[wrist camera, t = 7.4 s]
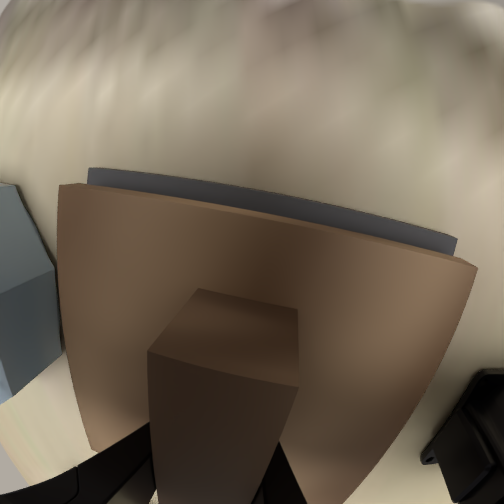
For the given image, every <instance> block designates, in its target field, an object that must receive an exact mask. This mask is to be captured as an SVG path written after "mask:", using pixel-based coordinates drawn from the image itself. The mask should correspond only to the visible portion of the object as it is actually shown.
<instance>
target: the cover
mask: <svg viewBox="0 0 504 504" xmlns="http://www.w3.org/2000/svg"><path fill="white" fill-rule="evenodd" d="M57 267H58V285H59V298H60V309H61V318H62V326H63V333H64V340H65V346H66V352H67V358H68V363H69V368H70V373H71V378H72V382H73V387H74V391H75V395H76V399H77V403H78V407H79V411H80V414H81V418H82V421H83V425H84V428H85V431H86V434H87V438H88V441H89V444H90V447H91V449H92V450H94V451H96V452H98V453H100V452H101V451H103V450H105V449H106V448H108V447H110V446H111V445H113V444H115V443H116V442H118V441H120V440H121V439H123V438H124V437H126V436H127V435H129V434H131V433H132V432H134V431H135V430H137V429H138V428H140V427H142V426H143V425H145V424H146V423H148V422H149V421H150V435H151V446H152V456H153V466H154V474H155V482H156V489H157V496H158V502H159V504H251V502H252V500H253V498H254V496H255V494H256V492H257V490H258V488H259V485H260V483H261V481H262V479H263V477H264V474H265V472H266V470H267V468H268V465H269V463H270V461H271V458H272V456H273V454H274V451H275V449H276V446H277V444H278V441H280V443H281V446H282V448H283V450H284V453H285V455H286V457H287V459H288V462H289V464H290V466H291V468H292V471H293V473H294V475H295V477H296V480H297V482H298V484H299V486H300V488H301V490H302V493H303V495H304V497H305V499H306V501H307V503H308V504H343V503H344V502H345V501H346V499H347V498H348V497H349V496H350V495H351V494H352V493H353V492H354V491H355V489H356V488H357V487H358V486H359V485H360V484H361V483H362V481H363V480H364V479H365V478H366V477H367V475H368V474H369V473H370V472H371V471H372V469H373V468H374V467H375V466H376V464H377V463H378V462H379V460H380V459H381V458H382V456H383V455H384V454H385V452H386V451H387V450H388V448H389V447H390V446H391V444H392V443H393V441H394V440H395V439H396V437H397V436H398V434H399V433H400V431H401V430H402V428H403V427H404V425H405V424H406V422H407V421H408V419H409V418H410V416H411V414H412V413H413V411H414V410H415V408H416V406H417V405H418V403H419V401H420V400H421V398H422V396H423V394H424V393H425V391H426V389H427V387H428V385H429V384H430V382H431V380H432V378H433V376H434V374H435V372H436V370H437V369H438V367H439V365H440V363H441V361H442V359H443V356H444V354H445V352H446V350H447V348H448V346H449V344H450V342H451V339H452V337H453V335H454V332H455V330H456V328H457V325H458V323H459V321H460V318H461V316H462V313H463V310H464V308H465V305H466V302H467V300H468V297H469V294H470V291H471V288H472V286H473V283H474V279H475V276H476V273H477V270H478V268H477V267H476V266H474V265H472V264H470V263H468V262H467V261H465V260H463V259H461V258H458V257H454V256H450V255H446V254H443V253H439V252H435V251H431V250H427V249H423V248H419V247H415V246H411V245H407V244H403V243H399V242H395V241H391V240H387V239H383V238H379V237H374V236H370V235H366V234H361V233H357V232H353V231H348V230H344V229H339V228H335V227H330V226H325V225H321V224H316V223H311V222H307V221H302V220H297V219H292V218H287V217H282V216H277V215H272V214H267V213H262V212H257V211H251V210H246V209H241V208H235V207H230V206H224V205H219V204H213V203H207V202H201V201H196V200H190V199H184V198H178V197H171V196H165V195H159V194H152V193H146V192H139V191H132V190H125V189H118V188H111V187H104V186H96V185H89V184H81V183H77V184H66V185H59V194H58V212H57Z"/></svg>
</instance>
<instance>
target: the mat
mask: <svg viewBox="0 0 504 504" xmlns="http://www.w3.org/2000/svg"><path fill="white" fill-rule="evenodd" d="M87 184H89V185H96V186H104V187H111V188H118V189H125V190H132V191H139V192H146V193H152V194H159V195H165V196H171V197H178V198H184V199H190V200H196V201H201V202H207V203H213V204H219V205H224V206H230V207H235V208H241V209H246V210H251V211H257V212H262V213H267V214H272V215H277V216H282V217H287V218H292V219H297V220H302V221H307V222H311V223H316V224H321V225H325V226H330V227H335V228H339V229H344V230H348V231H353V232H357V233H361V234H366V235H370V236H374V237H379V238H383V239H387V240H391V241H395V242H399V243H403V244H407V245H411V246H415V247H419V248H423V249H427V250H431V251H435V252H439V253H443V254H446V255H450V256H453V254H454V251H455V247H456V243H457V240H458V239H457V238H455V237H452V236H450V235H447V234H443V233H440V232H436V231H433V230H429V229H426V228H422V227H419V226H415V225H411V224H408V223H404V222H400V221H396V220H393V219H389V218H385V217H381V216H377V215H373V214H369V213H365V212H360V211H356V210H352V209H348V208H343V207H339V206H335V205H330V204H326V203H321V202H316V201H312V200H307V199H302V198H297V197H292V196H287V195H282V194H277V193H272V192H267V191H261V190H256V189H250V188H244V187H239V186H233V185H227V184H221V183H215V182H208V181H202V180H195V179H188V178H181V177H174V176H167V175H159V174H151V173H143V172H135V171H126V170H117V169H107V168H89V170H88V179H87Z"/></svg>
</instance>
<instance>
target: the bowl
mask: <svg viewBox="0 0 504 504" xmlns="http://www.w3.org/2000/svg"><path fill="white" fill-rule="evenodd" d="M59 333H60V309H59V301H58V294H57V289H56V284H55V268H54V266H53V265H52V263H51V261H50V259H49V257H48V255H47V252H46V250H45V247H44V245H43V242H42V239H41V237H40V235H39V233H38V230H37V228H36V226H35V224H34V222H33V220H32V219H31V217H30V215H29V213H28V212H27V210H26V209H25V207H24V206H23V204H22V202H21V199H20V197H19V195H18V192H17V190H16V187H15V185H10V184H4V183H0V404H2V403H3V402H5V401H7V400H8V399H10V398H11V397H13V396H14V395H16V394H17V393H18V392H19V391H20V390H21V389H22V388H23V387H25V386H26V385H27V384H28V383H29V382H30V381H32V380H33V379H34V378H35V377H36V376H37V375H38V374H40V373H41V372H42V371H43V370H44V369H45V368H47V367H48V366H49V365H50V364H51V363H52V362H54V361H55V360H56V359H57V358H58V357H60V356H61V355H62V350H61V343H60V335H59Z"/></svg>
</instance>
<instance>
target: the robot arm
mask: <svg viewBox="0 0 504 504" xmlns="http://www.w3.org/2000/svg"><path fill="white" fill-rule="evenodd" d="M420 460H421V463H422V464H423V465H428V464H436V463H439V466H440V469H441V471H442V474H443V477H444V480H445V482H446V485H447V488H448V491H449V494H450V497H451V500H452V502H453V503H458V504H504V370H482V371H480V372H478V373H477V374H476V375H475V377H474V378H473V380H472V381H471V383H470V385H469V387H468V388H467V390H466V392H465V393H464V395H463V397H462V398H461V400H460V402H459V403H458V405H457V406H456V408H455V409H454V411H453V413H452V414H451V416H450V417H449V418H448V420H447V421H446V423H445V424H444V426H443V427H442V429H441V430H440V431H439V433H438V434H437V435H436V437H435V438H434V439H433V441H432V442H431V443H430V445H429V446H428V447H427V449H426V450H425V451H424V452H423V454H422V455H421V456H420ZM155 491H156V482H155V474H154V466H153V456H152V446H151V435H150V421H149V422H148V423H146V424H145V425H143V426H142V427H140V428H138V429H137V430H135V431H134V432H132V433H131V434H129V435H127V436H126V437H124V438H123V439H121V440H120V441H118V442H116V443H115V444H113V445H111V446H110V447H108V448H106V449H105V450H103V451H101V452H100V453H98V454H96V455H95V456H93V457H91V458H89V459H88V460H86V461H84V462H83V463H81V464H79V465H78V466H77V467H76V466H75V467H73V468H72V469H70V470H68V471H66V472H64V473H62V474H60V475H58V476H56V477H54V478H52V479H49V480H46V481H44V482H41V483H39V484H36V485H33V486H30V487H27V488H23V489H20V490H17V491H13V492H10V493H6V494H2V495H0V504H149V502H150V500H151V498H152V496H153V494H154V492H155ZM251 504H308V503H307V501H306V499H305V497H304V495H303V493H302V490H301V488H300V486H299V484H298V482H297V480H296V477H295V475H294V473H293V471H292V468H291V466H290V464H289V462H288V459H287V457H286V455H285V453H284V450H283V448H282V446H281V443H280V441H278V444H277V446H276V449H275V451H274V454H273V456H272V458H271V461H270V463H269V465H268V468H267V470H266V472H265V474H264V477H263V479H262V481H261V483H260V485H259V488H258V490H257V492H256V494H255V496H254V498H253V500H252V502H251Z"/></svg>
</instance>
